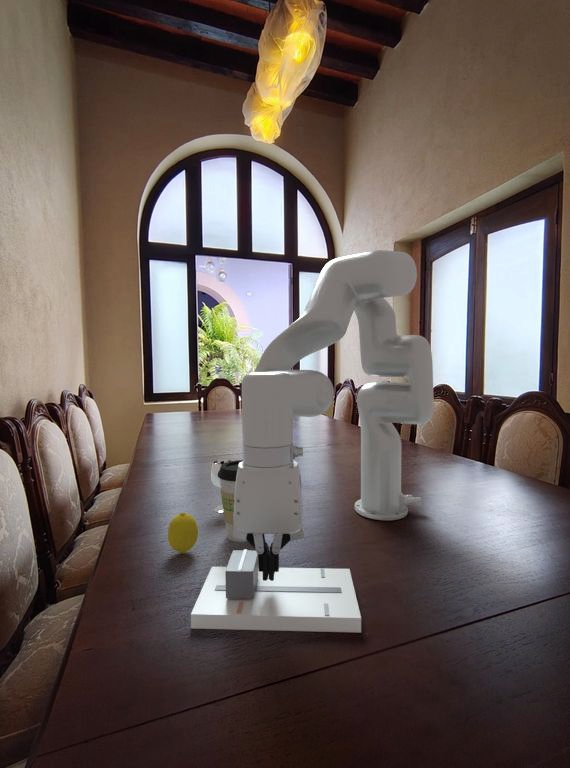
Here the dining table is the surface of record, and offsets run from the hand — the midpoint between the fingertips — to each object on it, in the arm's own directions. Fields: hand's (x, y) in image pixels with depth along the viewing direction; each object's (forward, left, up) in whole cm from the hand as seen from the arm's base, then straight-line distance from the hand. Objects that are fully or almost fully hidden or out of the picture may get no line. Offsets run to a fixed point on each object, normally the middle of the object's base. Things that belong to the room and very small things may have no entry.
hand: (269, 575), depth 56 cm
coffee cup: (+8, -22, -4) cm, 24 cm away
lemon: (+18, -14, -4) cm, 23 cm away
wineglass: (+15, -36, -4) cm, 39 cm away
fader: (+4, 0, -2) cm, 4 cm away
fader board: (-1, 0, -4) cm, 4 cm away
